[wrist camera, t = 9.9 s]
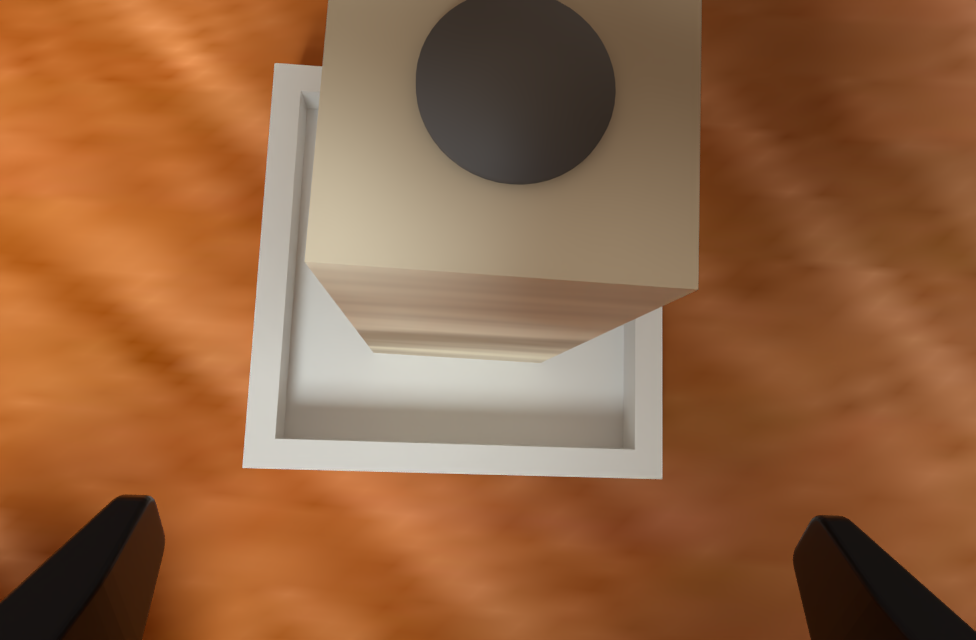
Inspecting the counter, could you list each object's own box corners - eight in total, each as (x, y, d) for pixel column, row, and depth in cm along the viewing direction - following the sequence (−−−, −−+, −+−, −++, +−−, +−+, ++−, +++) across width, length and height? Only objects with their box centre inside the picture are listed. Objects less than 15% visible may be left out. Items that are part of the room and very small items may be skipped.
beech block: (540, 363, 22) (702, 287, 9) (373, 352, 21) (302, 258, 9) (547, 203, 22) (706, -72, 10) (385, 190, 22) (336, -114, 9)
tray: (641, 473, 22) (662, 479, 20) (259, 463, 21) (242, 467, 19) (642, 118, 24) (662, 91, 22) (287, 93, 23) (274, 63, 21)
